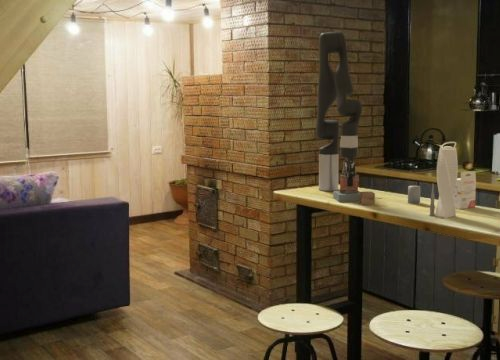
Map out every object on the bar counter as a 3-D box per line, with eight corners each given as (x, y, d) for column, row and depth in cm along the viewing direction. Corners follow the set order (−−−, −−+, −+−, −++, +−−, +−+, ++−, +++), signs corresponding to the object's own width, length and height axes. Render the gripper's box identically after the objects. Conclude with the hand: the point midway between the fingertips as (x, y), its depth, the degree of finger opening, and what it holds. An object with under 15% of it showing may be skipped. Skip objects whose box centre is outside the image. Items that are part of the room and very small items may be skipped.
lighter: (357, 192, 268) (358, 169, 266) (358, 193, 264) (359, 170, 263) (339, 191, 268) (340, 168, 266) (339, 192, 265) (340, 169, 263)
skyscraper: (443, 213, 235) (445, 140, 231) (461, 217, 229) (463, 142, 225) (428, 216, 231) (430, 142, 227) (446, 219, 224) (448, 143, 220)
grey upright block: (406, 202, 259) (406, 185, 258) (417, 201, 260) (418, 185, 259) (410, 204, 254) (410, 187, 253) (421, 203, 255) (422, 187, 254)
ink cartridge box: (465, 205, 251) (467, 169, 248) (475, 207, 246) (476, 170, 244) (450, 207, 247) (451, 171, 245) (459, 209, 242) (461, 172, 240)
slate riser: (333, 197, 272) (333, 190, 272) (357, 196, 273) (357, 190, 272) (338, 201, 261) (338, 194, 261) (364, 201, 262) (364, 194, 262)
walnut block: (359, 203, 258) (359, 191, 257) (371, 203, 258) (371, 191, 257) (362, 205, 253) (362, 193, 252) (374, 205, 253) (374, 193, 253)
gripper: (336, 144, 270) (336, 183, 273) (344, 147, 256) (343, 188, 259) (353, 144, 271) (353, 182, 273) (361, 147, 257) (361, 187, 259)
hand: (348, 185), depth 266 cm, fingers open, 4 cm apart
